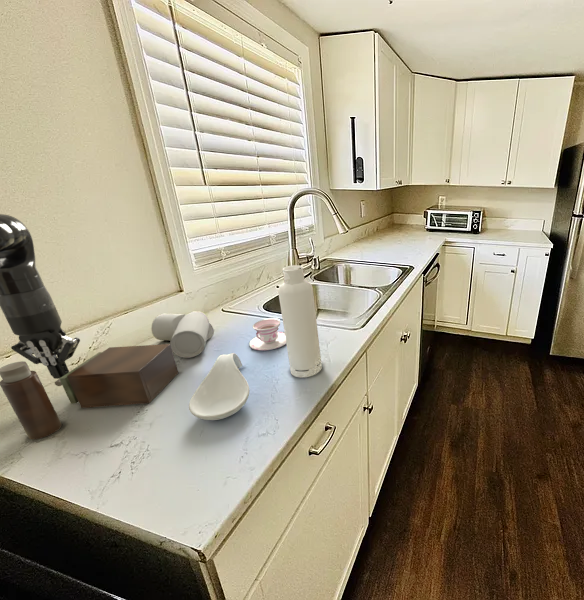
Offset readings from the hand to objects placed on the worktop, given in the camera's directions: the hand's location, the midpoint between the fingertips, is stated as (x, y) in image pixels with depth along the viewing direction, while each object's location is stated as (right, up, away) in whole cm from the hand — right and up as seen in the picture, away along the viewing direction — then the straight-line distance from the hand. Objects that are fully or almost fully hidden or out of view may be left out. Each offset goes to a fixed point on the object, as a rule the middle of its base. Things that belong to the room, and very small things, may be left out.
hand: (61, 376), depth 77 cm
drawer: (+10, -3, +2) cm, 11 cm away
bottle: (+55, -1, +10) cm, 56 cm away
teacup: (+40, +5, +25) cm, 47 cm away
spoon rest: (+39, -5, 0) cm, 39 cm away
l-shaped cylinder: (+14, +4, +24) cm, 28 cm away
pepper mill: (+7, -9, -10) cm, 15 cm away
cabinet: (+15, -4, +3) cm, 15 cm away
